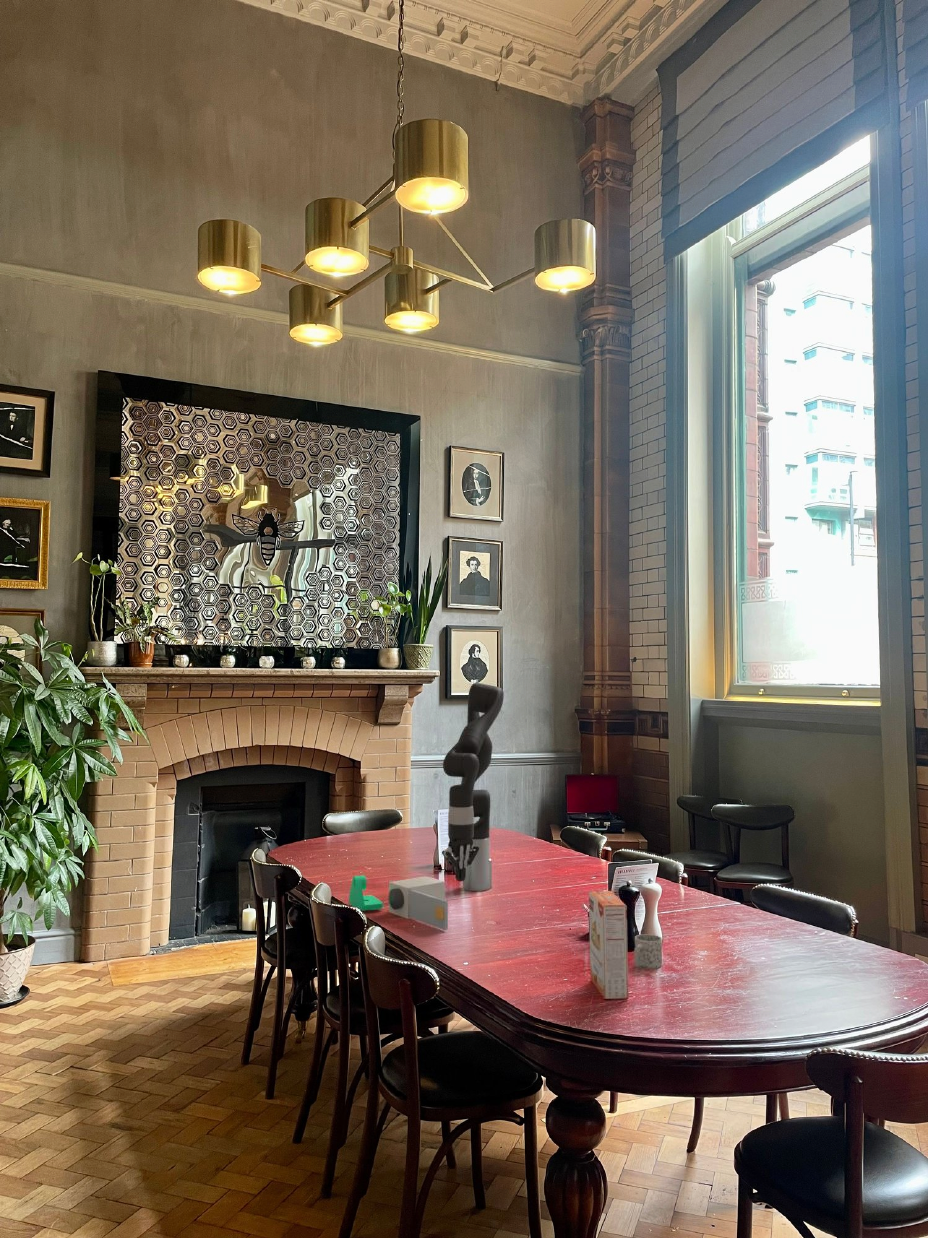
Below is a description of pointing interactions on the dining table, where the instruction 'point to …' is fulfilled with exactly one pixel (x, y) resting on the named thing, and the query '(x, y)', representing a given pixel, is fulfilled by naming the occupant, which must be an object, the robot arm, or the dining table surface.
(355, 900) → the camera mount
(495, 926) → the dining table surface
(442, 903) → the side door
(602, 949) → the cracker box
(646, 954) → the mug
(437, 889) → the camera housing
